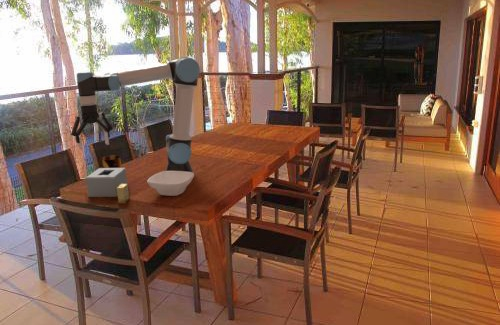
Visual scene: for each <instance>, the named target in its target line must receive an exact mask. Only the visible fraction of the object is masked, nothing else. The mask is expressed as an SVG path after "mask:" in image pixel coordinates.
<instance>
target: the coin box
mask: <svg viewBox="0 0 500 325" xmlns="http://www.w3.org/2000/svg"><path fill="white" fill-rule="evenodd" d="M127 178H128V177H127V169H126V167H122V168H103V167H99V168H97V169H95V171H93V172H91V173H90V174H89V175H87V176H86V177H85V181H86V186H87V187H86V188H87V194H88V198H97V197H99V198H101V197H103V198H105V197H108V198H111V197H118V194H117V187H118V186H120V185H121V184H128V179H127Z"/></svg>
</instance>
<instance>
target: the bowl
mask: <svg viewBox="0 0 500 325" xmlns="http://www.w3.org/2000/svg"><path fill="white" fill-rule="evenodd" d="M194 177H195V172H194V171H193V172H186V171H166V170H163V171H160V172H157V173H155V174H153V175H151V176H150V177H149V178H148V179H147V180H146V183H147V184H148V185H149V187H151V188H153V189H154V190H156V192H157V193H158V194H159V195H160V196H167V197H168V196H169V197H170V196H173V197H175V196H179V195H181V194H183V193H184V192H185V190H186V189H187V187H188V186H189V185H190V183H191V182H192V181H193V178H194Z"/></svg>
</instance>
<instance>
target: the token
mask: <svg viewBox="0 0 500 325" xmlns="http://www.w3.org/2000/svg"><path fill="white" fill-rule="evenodd" d="M128 186H129V185H128V183H127V184H121V185H120V186H118V187H117V194H118V195H117V202H118V204H125V203H126V202H127V201H129V200H130V194H129V188H128Z"/></svg>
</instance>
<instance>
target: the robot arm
mask: <svg viewBox="0 0 500 325" xmlns="http://www.w3.org/2000/svg"><path fill="white" fill-rule="evenodd" d="M200 74H201V68H200V65H199V63H198V62H197V61H196V60H195V58H193V57H188V56H182V57H179V58H177V59H174V60H169V61H167V62H166V63H162V64H157V65H151V66H145V67H140V68H139V67H138V68H133V69H126V70H122V71H118V72H117V71H115V72H107V73H105V74H103V75H94V73H93V72H92V71H83V72H82V71H81V72H77V74H76V84H77V90H78V97H79V103H80V111H81V112H80V113H81V115H76V116H74V120H75V121H74V123H73V124H74V125H73V126H72V129H71V133H70V135H71V136H73V137H75V142H76V144H78V149H79V150H80V151H81V150H83V149H84V148H83V141H82V136H81V134H82V132H83V131H84V129H85V127H86V126H87V125H90V124H98V125H99V127H100V128H102V129H103V135H104V142H105V145H107V146H109V145H110V140H109V138H110V134H111V133H110V132H111V131H112V130H113V127H112V125H111V124H110V122H109V121H108V119H107V117H106V114H105V113H104V112H102V111H100V112H99V111H98V104H97V102H98V101H97V96H96V95H97V94H96V92H108V91H109V92H110V91H113V92H114V91H119V90H120V89H121V87H125V86H132V85H136V84H137V85H138V84H143V83H149V82H156V81H160V80H166V79H167V80H168V79H170V80H172V81H173V80H174V81H173V84H174V85H175V87H176V91H175V101H174V102H175V104H174V113H173V114H174V115H173V124H172V125H173V126H172V133H171V134H167V135H166V136H165V142H166V143H165V147H166V155H167V163H166V164H167V165H166V169H165V171H186V172H193V173H194V169H193V167H192V164H191V162H190V159H191V157H192V139H193V138H192V137H191V136H190V131H191V130H190V129H191V122H192V120H191V119H192V111H193V110H192V109H193V100H194V90H195V89H196V88H197V87H198V80H199V76H200ZM98 112H99V113H98ZM99 117H100V118H101V120H102V121H103V122H101V120H100V119H99ZM81 120H82V122H80V121H81Z"/></svg>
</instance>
